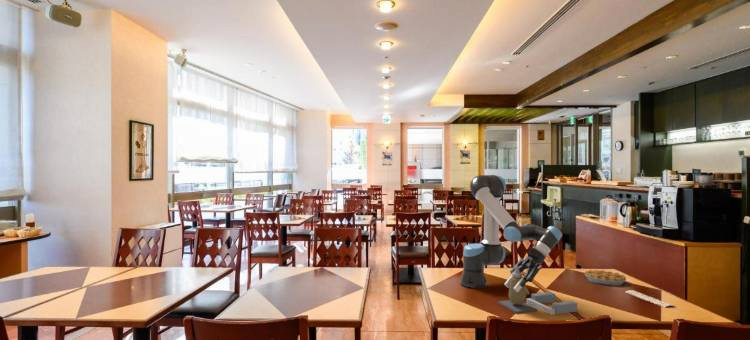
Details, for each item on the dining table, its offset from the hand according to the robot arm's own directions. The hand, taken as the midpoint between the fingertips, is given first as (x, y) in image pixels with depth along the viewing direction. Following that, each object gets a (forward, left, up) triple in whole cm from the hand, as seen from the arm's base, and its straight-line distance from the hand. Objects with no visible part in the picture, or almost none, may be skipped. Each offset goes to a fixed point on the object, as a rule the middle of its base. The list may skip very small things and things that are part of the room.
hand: (510, 288), depth 177 cm
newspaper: (+9, +79, -10) cm, 80 cm away
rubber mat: (0, +4, -10) cm, 10 cm away
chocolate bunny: (-16, +19, -10) cm, 26 cm away
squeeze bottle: (0, +4, -8) cm, 8 cm away
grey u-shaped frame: (+4, +20, -10) cm, 23 cm away
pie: (-24, +86, -10) cm, 89 cm away
